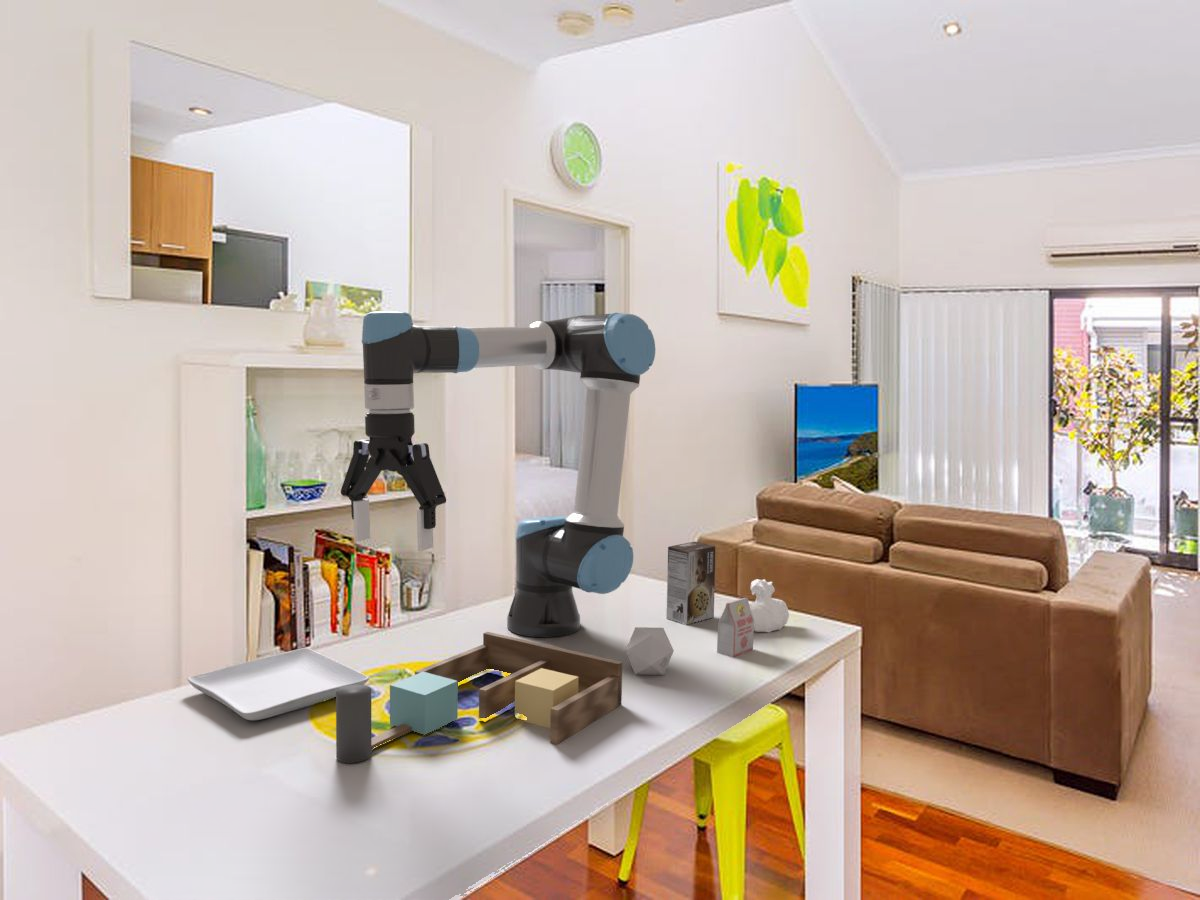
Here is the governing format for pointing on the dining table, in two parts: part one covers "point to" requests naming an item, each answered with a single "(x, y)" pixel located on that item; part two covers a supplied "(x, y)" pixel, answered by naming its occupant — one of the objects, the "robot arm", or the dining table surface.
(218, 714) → the dining table surface
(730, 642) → the white gable top carton
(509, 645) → the lane rack
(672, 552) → the food box
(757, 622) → the bust
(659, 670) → the die
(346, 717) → the block
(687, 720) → the dining table surface
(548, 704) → the block
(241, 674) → the salad plate
